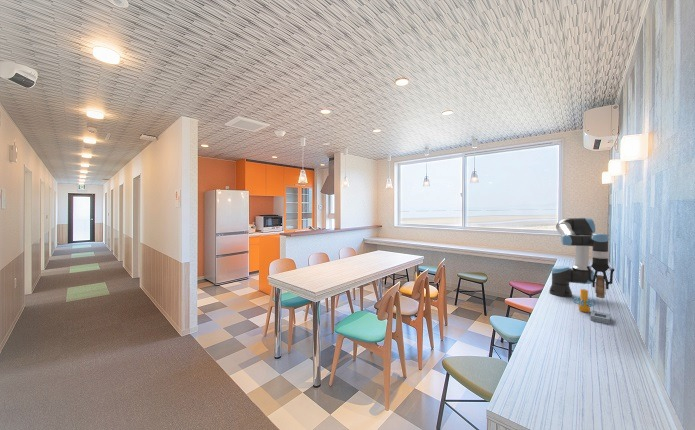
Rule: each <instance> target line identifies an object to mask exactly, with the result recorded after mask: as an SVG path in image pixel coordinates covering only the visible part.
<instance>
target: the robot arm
mask: <svg viewBox="0 0 695 430" xmlns="http://www.w3.org/2000/svg"><path fill="white" fill-rule="evenodd" d="M555 230H556V231H557V232H558V233H560V234H561V238H560V239H561V245H562V246H567V247H568V246H571V247H573V246H574V247H575V249H574V251H575V253H574V265H572V268H570V267H569V266H566V265H558V266H557V265H556V266H553V267H552V268H551V285H550V287H549V291H548V293H549V294H551V295H553V294H554V296H557V297H568V298H569V297H572V296H573V292H572V288H571V287H570V284H571V283H573V284H583V285H591V286H592V287H591V288H593V289H594V293H595V294H596V276H597V275H598V273H599V272H601V273H602V276H604V279H605V284H604V294H605V295H607V290H609V289H610V288H609V287H610V286H609V285H613V282H614V280H613V278H614V271H615V268H614V267H610V266H609V234H605V233H596V224H595V222H594V220H593V219H592V218H589V217H574V218H573V217H572V218H569V217H567V218H563V219H561V220H559V221H558V222H557V223H556V224H555ZM590 247H592V254H591V255H592V264H591V265H590ZM592 268H593V269H592ZM607 271H609V272H610V273H609V280H608V276H607Z"/></svg>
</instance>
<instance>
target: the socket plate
mask: <svg viewBox="0 0 695 430" xmlns="http://www.w3.org/2000/svg"><path fill="white" fill-rule="evenodd" d="M590 321H592V322H597V323H601V324H606V323H608V324H607V325H610V324H611V313H607V312H601V311H596V310H591V312H590Z"/></svg>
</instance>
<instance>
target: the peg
mask: <svg viewBox="0 0 695 430" xmlns="http://www.w3.org/2000/svg"><path fill="white" fill-rule="evenodd" d="M595 282H596V293H595V297H596V298H599V299H605V298H606V296H605V294H604V284H606V282H605V279H604V275H603V274H602V275H601V274H597V276H596V280H595Z"/></svg>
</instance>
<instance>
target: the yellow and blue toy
mask: <svg viewBox="0 0 695 430" xmlns="http://www.w3.org/2000/svg"><path fill="white" fill-rule="evenodd" d="M579 291H580V293H579V294H580V296H578V297H574V298H573V299H572V302H573V303H575V305H576V304H577V305H578V310H579V312H583V313H591V311H590V310H591V307H592V306H593V307H594V306H596V301H595V299H589V290H588V289H586V288H585V289H584V288H580V290H579ZM575 300H577V302H576V301H575ZM591 301H592V302H593V303H592V302H591Z"/></svg>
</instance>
